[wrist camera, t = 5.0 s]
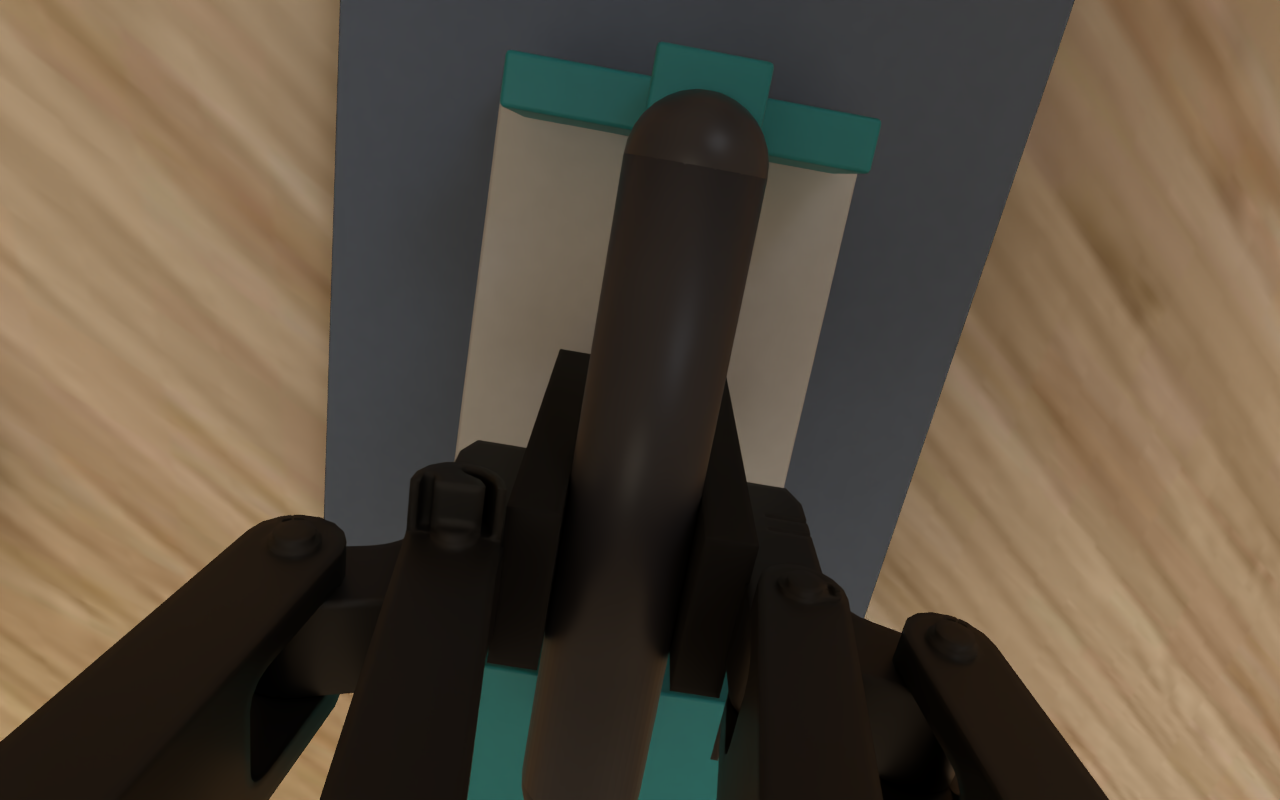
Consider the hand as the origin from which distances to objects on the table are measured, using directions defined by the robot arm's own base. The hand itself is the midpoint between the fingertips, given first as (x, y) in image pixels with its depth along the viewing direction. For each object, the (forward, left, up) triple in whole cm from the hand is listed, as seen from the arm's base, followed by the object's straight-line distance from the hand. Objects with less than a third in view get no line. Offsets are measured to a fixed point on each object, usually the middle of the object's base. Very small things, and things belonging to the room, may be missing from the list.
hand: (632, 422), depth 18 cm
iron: (0, +2, -3) cm, 3 cm away
